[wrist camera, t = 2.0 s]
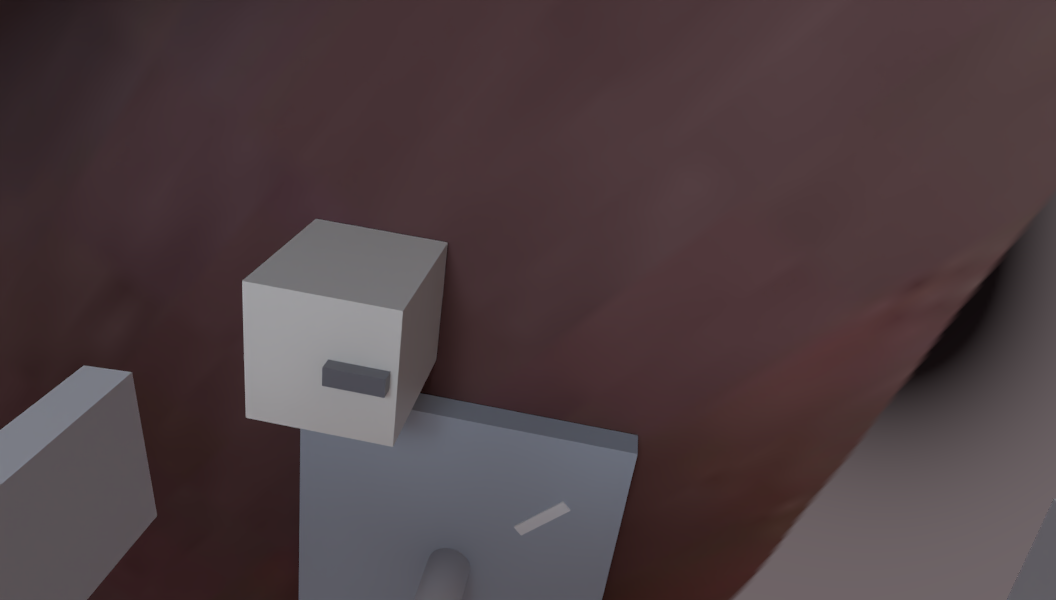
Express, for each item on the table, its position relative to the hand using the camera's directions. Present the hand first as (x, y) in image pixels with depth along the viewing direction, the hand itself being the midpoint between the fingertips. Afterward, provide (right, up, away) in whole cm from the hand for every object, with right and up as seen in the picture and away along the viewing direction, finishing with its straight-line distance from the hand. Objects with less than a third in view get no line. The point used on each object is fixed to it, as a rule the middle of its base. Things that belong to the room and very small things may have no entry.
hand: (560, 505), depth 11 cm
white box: (-7, +3, +24) cm, 25 cm away
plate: (-4, -10, +30) cm, 32 cm away
